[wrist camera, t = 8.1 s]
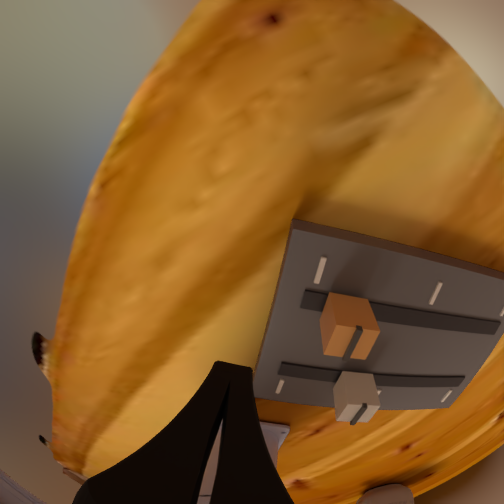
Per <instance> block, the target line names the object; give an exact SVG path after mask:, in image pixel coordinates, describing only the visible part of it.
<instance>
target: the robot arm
mask: <svg viewBox="0 0 504 504" xmlns="http://www.w3.org/2000/svg"><path fill="white" fill-rule="evenodd" d="M289 431H290V427H289V426H287V425H280V424H273V423H266V422H260V421H259V418H258V413H257V408H256V403H255V398H254V390H253V370H252V369H251V367H246V366H241V365H236V364H231V363H227V362H222V361H216V362H215V363H214V365H213V367H212V369H211V371H210V372H209V374H208V376H207V377H206V379H205V380H204V382H203V383H202V385H201V386H200V388H199V389H198V390H197V392H196V393H195V394H194V396H193V397H192V398H191V400H190V401H189V402H188V403H187V404H186V406H185V407H184V408H183V409H182V410H181V411H180V412H179V413H178V414H177V416H176V417H175V418H174V419H173V420H172V421H171V422H170V423H169V424H168V425H167V426H166V427H165V428H164V429H162V430H161V431H160V432H159V433H158V434H157V435H156V436H155V437H153V438H152V439H151V440H150V441H149V442H147V443H146V444H145V445H144V446H142V447H141V448H140V449H138V450H137V451H136V452H134V453H133V454H131V455H130V456H128V457H127V458H125V459H123V460H122V461H120V462H119V463H117V464H116V465H114V466H112V467H110V468H109V469H107V470H105V471H103V472H101V473H99V474H97V475H95V476H93V477H91V478H89V479H88V480H87V481H86V482H85V483H84V484H83V485H82V486H81V488H80V489H79V491H78V492H77V494H76V496H75V498H74V501H73V503H72V504H294V502H293V500H292V499H291V497H290V495H289V494H288V492H287V490H286V488H285V486H284V484H283V482H282V480H281V479H280V477H279V475H278V472H277V470H276V467H277V455H278V450H279V448H280V446H281V445H282V443H283V441H284V440H285V438H286V436H287V435H288V433H289ZM0 504H46V503H45V502H43V501H42V500H40V499H39V498H37V497H36V496H34V495H33V494H32V493H30V492H29V491H27V490H26V489H25V488H23V487H22V486H20V485H19V484H18V483H16V482H15V481H14V480H13V479H11V478H10V476H8V475H7V474H6V473H5V472H3V471H2V470H1V469H0Z"/></svg>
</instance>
